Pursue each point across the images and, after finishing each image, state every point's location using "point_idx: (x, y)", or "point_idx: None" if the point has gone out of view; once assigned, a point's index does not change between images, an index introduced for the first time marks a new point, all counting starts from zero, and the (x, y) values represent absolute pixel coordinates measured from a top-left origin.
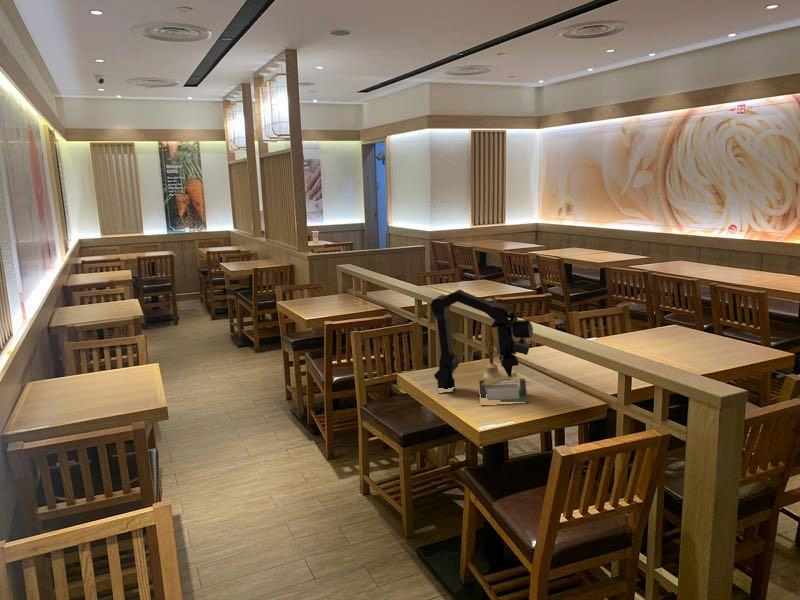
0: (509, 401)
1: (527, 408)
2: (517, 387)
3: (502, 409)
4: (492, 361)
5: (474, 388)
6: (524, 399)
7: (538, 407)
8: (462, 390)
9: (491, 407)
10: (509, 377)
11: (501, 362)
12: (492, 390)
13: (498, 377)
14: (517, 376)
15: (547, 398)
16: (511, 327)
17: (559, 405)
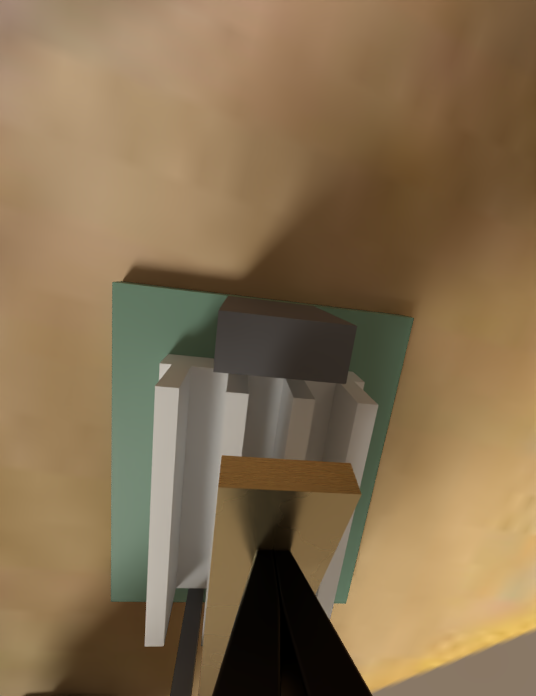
0: (375, 444)
1: (474, 340)
2: (311, 397)
3: (426, 486)
4: None
5: (62, 599)
6: (380, 338)
7: (490, 261)
8: (86, 658)
9: (378, 537)
10: (326, 562)
11: None
12: (331, 606)
13: (206, 633)
14: (351, 465)
15: (369, 133)
16: None
17: (528, 79)
